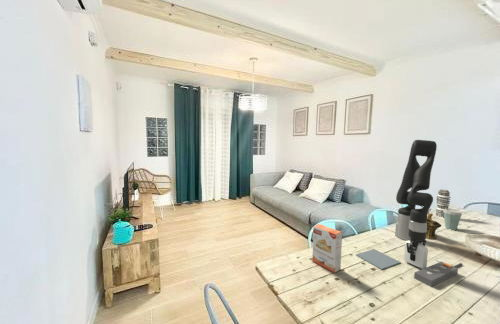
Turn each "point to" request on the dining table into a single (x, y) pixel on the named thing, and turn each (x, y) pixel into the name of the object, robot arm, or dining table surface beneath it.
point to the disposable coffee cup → (451, 218)
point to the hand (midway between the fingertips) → (415, 259)
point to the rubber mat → (378, 259)
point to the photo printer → (417, 256)
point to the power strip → (436, 273)
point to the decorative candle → (442, 202)
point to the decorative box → (431, 227)
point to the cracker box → (327, 247)
